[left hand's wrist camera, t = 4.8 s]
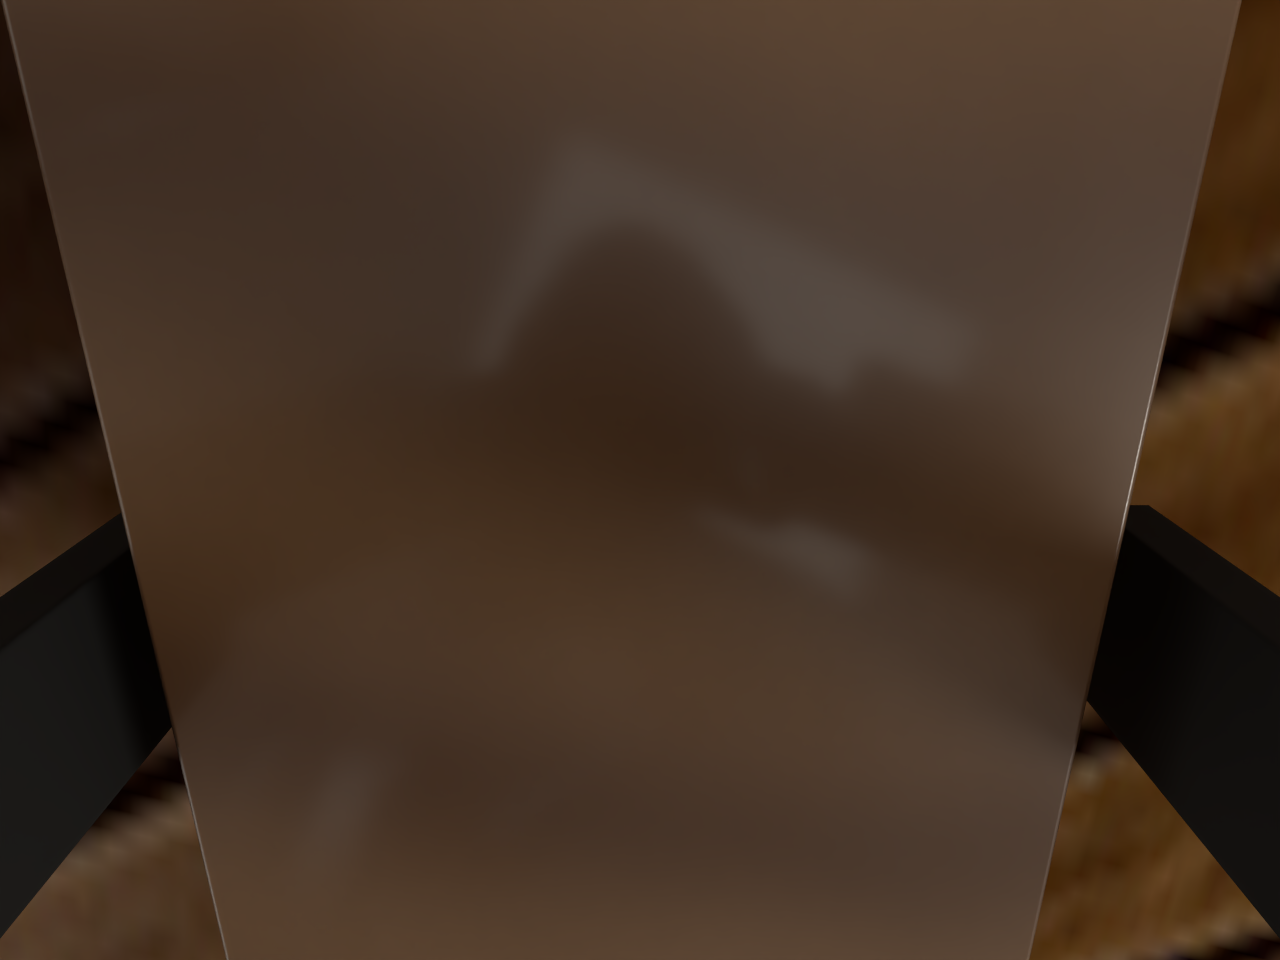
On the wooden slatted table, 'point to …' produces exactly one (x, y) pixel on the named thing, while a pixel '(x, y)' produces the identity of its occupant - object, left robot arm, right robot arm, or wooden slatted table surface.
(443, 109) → the cabinet
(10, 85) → the wooden slatted table surface
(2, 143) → the wooden slatted table surface
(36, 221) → the wooden slatted table surface
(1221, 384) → the wooden slatted table surface
